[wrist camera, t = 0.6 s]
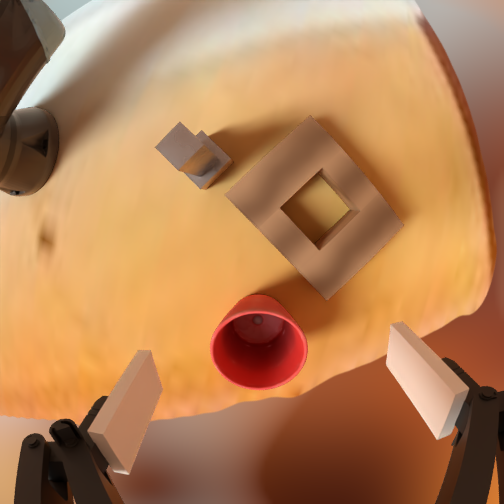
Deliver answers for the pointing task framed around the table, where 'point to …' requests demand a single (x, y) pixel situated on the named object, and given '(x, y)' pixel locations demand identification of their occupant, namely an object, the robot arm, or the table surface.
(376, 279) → the table surface
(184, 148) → the grey stepped bar
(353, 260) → the well block
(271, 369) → the flower pot
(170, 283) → the table surface
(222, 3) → the table surface
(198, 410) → the table surface
